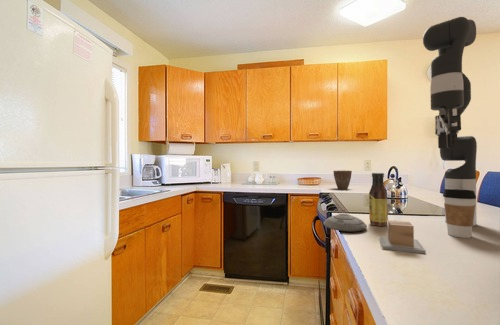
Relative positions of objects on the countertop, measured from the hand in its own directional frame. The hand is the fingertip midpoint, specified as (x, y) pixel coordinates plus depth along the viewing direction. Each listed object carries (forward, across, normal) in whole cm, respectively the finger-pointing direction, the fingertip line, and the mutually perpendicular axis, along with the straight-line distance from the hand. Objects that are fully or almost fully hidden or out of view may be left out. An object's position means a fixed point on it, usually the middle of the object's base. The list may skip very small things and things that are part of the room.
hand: (447, 148), depth 73 cm
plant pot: (+31, +137, +38) cm, 146 cm away
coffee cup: (+28, +11, -6) cm, 31 cm away
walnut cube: (+27, -7, +13) cm, 31 cm away
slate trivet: (+28, -7, +13) cm, 31 cm away
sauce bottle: (+28, +17, +17) cm, 37 cm away
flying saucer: (+28, +7, +29) cm, 41 cm away
